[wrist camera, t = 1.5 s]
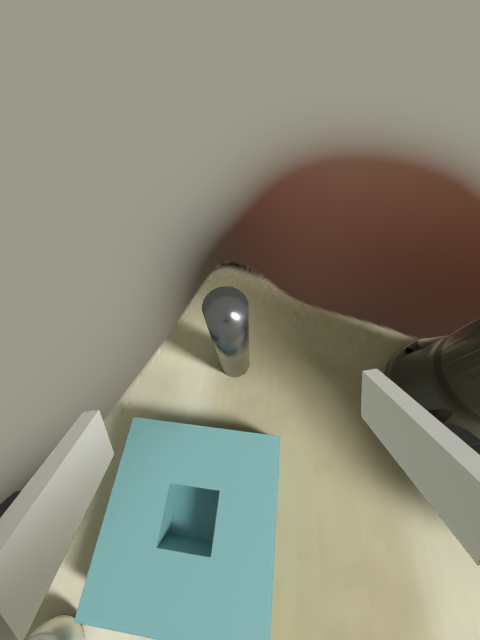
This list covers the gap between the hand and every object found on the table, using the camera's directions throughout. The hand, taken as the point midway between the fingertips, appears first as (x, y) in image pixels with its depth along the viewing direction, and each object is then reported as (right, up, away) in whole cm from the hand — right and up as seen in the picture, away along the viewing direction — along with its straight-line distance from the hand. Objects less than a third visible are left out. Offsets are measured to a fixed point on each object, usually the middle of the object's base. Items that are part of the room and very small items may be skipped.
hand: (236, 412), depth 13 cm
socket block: (-5, -19, +19) cm, 28 cm away
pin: (-1, -2, +28) cm, 28 cm away
